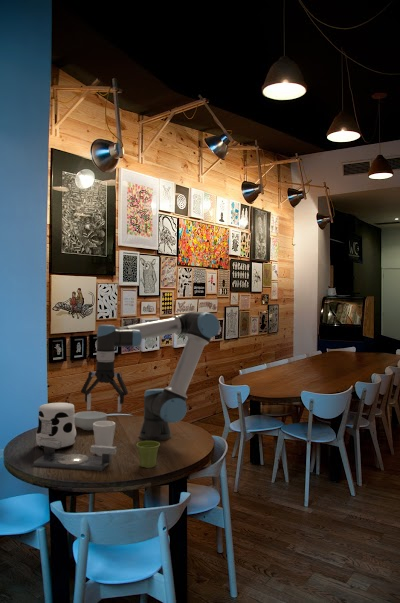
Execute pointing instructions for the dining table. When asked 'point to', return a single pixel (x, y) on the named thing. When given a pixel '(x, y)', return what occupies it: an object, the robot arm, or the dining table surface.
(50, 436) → the milk container
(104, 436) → the foam cup
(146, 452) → the plant pot
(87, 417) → the cereal bowl
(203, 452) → the dining table surface
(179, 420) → the robot arm
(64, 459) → the shaft stand
